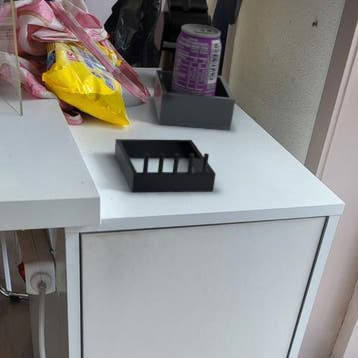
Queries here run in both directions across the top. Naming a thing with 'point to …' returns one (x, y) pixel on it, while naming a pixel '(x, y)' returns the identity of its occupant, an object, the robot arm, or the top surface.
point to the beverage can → (197, 60)
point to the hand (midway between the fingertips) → (210, 17)
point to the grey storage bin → (193, 105)
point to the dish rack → (160, 179)
